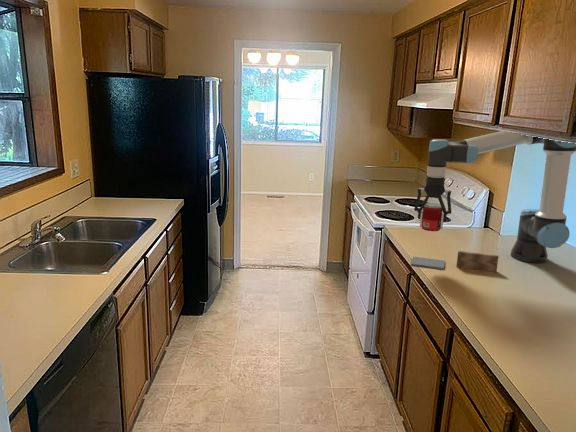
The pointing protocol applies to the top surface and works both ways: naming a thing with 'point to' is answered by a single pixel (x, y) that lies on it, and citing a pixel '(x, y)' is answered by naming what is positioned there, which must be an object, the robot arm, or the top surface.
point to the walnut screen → (477, 261)
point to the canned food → (432, 217)
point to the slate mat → (428, 263)
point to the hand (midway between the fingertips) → (431, 227)
